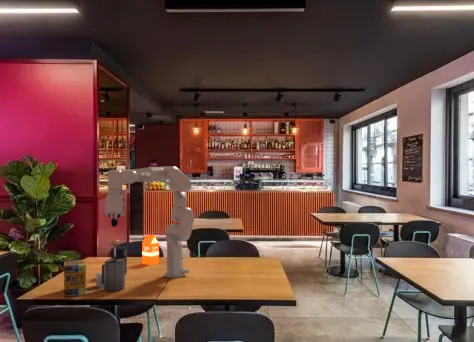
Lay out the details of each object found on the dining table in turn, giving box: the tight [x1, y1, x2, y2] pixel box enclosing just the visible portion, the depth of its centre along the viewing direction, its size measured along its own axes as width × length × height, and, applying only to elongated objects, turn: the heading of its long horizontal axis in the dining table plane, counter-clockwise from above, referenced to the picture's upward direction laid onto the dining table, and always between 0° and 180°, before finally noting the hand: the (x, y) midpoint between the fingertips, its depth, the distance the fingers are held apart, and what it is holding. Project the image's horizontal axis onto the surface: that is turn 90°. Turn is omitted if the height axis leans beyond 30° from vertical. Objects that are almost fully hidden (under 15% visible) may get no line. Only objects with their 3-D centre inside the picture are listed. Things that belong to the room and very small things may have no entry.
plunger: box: [110, 239, 120, 263], centre depth 215 cm, size 7×7×13 cm
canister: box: [110, 245, 128, 275], centre depth 246 cm, size 10×10×18 cm
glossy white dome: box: [95, 271, 105, 288], centre depth 221 cm, size 7×7×7 cm
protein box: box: [63, 259, 87, 298], centre depth 209 cm, size 10×15×16 cm
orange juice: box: [141, 234, 160, 266], centre depth 278 cm, size 8×9×20 cm
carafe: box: [101, 258, 126, 293], centre depth 215 cm, size 12×10×16 cm
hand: (114, 226), depth 215 cm, fingers closed
